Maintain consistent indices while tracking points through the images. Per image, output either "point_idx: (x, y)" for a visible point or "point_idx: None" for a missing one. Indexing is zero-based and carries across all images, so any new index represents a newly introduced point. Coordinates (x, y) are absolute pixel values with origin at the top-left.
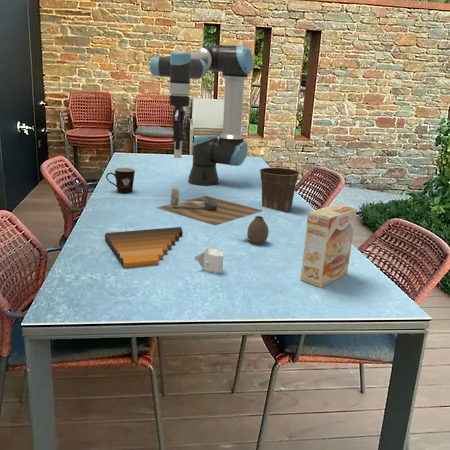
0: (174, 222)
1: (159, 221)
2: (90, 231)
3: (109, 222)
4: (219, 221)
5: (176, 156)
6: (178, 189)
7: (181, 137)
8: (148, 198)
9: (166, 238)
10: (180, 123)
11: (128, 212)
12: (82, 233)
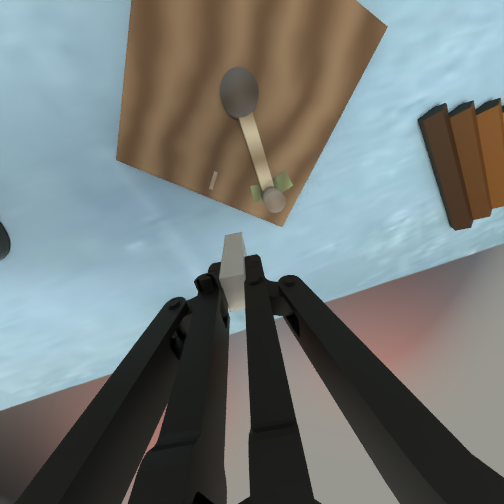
0: (342, 160)
1: (342, 191)
2: (410, 260)
3: (364, 259)
4: (348, 25)
5: (245, 251)
6: (273, 193)
7: (218, 296)
8: (201, 270)
9: (501, 118)
10: (295, 424)
11: (303, 259)
12: (419, 264)
